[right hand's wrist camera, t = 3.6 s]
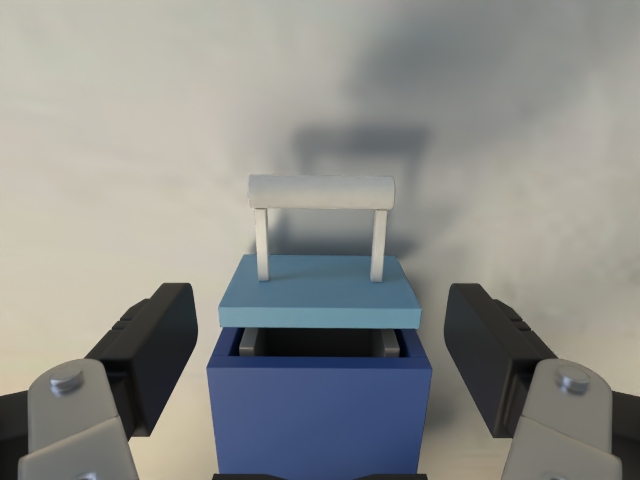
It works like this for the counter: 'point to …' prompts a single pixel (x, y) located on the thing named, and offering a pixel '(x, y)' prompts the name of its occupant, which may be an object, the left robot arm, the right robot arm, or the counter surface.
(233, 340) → the cabinet
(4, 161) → the counter surface
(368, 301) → the drawer
